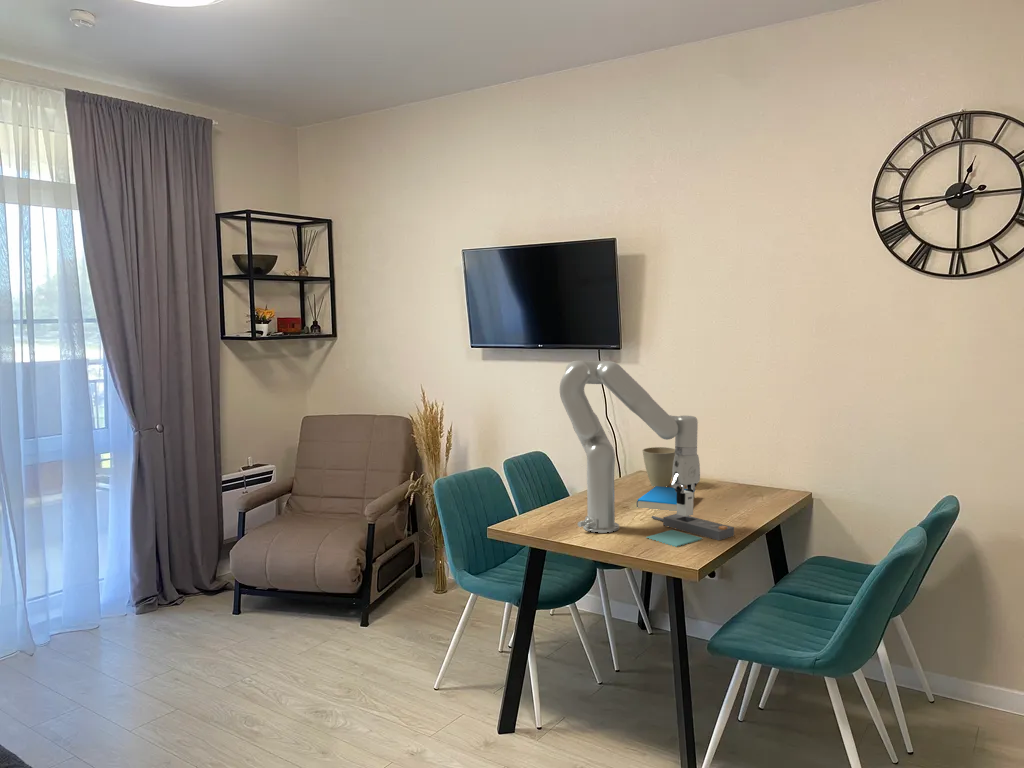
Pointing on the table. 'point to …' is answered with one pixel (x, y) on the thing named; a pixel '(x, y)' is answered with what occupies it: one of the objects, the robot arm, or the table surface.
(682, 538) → the mat
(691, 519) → the power strip
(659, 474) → the plant pot
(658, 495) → the book
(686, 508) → the charger plug
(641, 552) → the table surface
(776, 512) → the table surface
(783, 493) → the table surface
